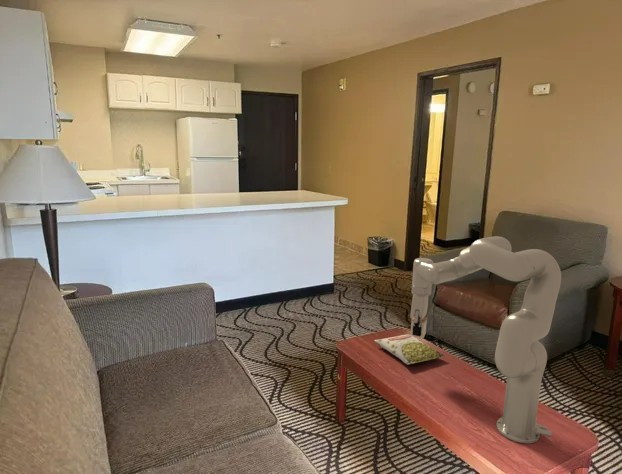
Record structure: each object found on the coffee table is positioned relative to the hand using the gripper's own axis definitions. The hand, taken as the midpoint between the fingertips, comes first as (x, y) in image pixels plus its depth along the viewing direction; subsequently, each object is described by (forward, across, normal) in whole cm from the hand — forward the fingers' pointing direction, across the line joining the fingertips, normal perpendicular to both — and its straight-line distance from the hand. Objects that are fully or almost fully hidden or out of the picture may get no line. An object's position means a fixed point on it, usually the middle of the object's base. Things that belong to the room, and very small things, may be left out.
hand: (418, 332), depth 169 cm
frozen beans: (+19, -16, -7) cm, 25 cm away
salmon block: (+1, 0, 0) cm, 1 cm away
